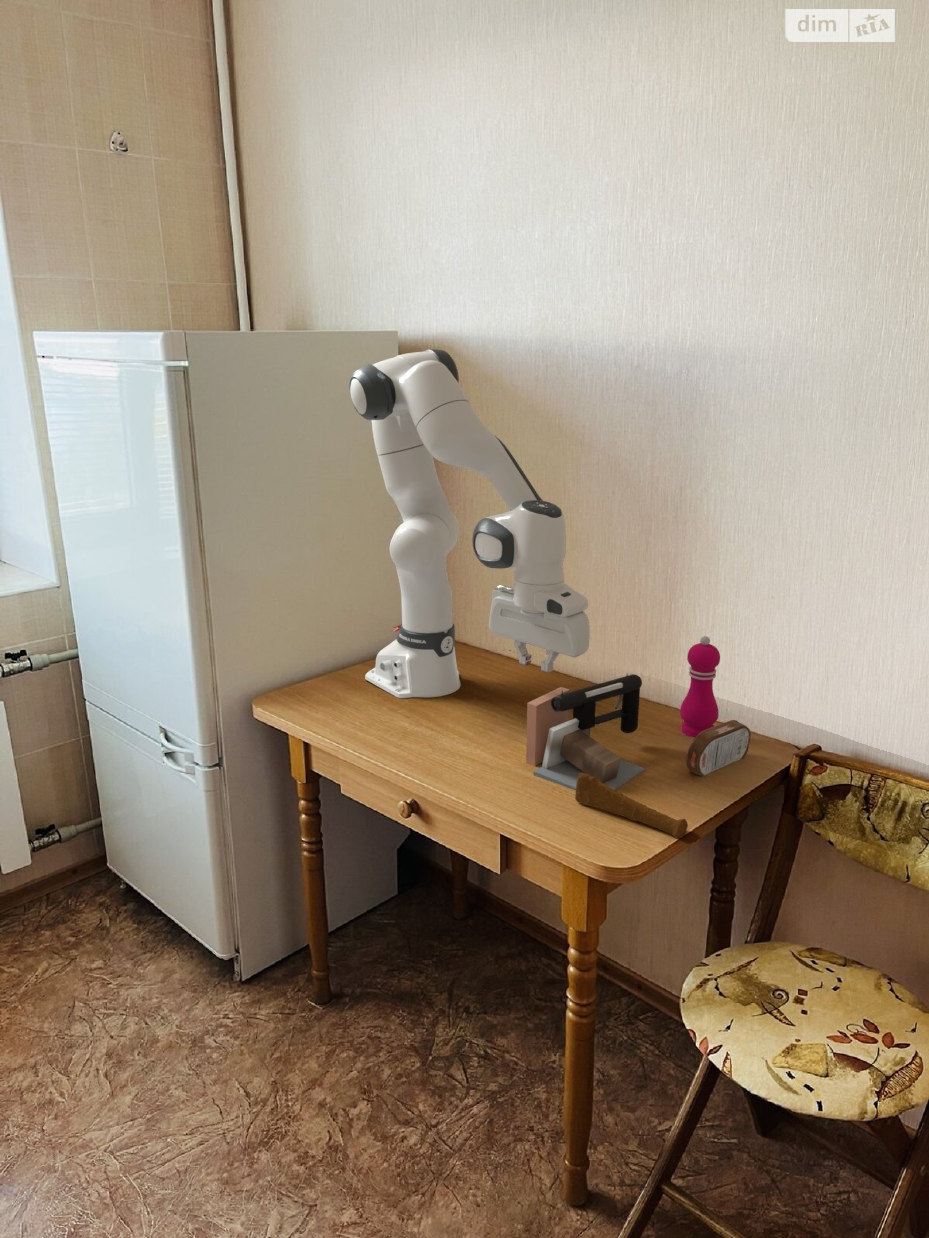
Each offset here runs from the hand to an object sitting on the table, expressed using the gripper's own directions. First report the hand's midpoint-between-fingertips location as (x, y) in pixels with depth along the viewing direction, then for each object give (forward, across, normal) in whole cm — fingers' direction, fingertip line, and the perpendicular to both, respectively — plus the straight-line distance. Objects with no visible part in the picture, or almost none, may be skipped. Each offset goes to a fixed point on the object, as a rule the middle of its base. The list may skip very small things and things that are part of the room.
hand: (535, 667), depth 167 cm
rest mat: (+16, +13, -1) cm, 21 cm away
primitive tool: (+19, +25, -10) cm, 33 cm away
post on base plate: (+12, +8, -1) cm, 14 cm away
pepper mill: (+16, +19, +27) cm, 37 cm away
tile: (+17, +3, 0) cm, 17 cm away
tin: (+16, +29, +16) cm, 37 cm away
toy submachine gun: (+17, +11, +5) cm, 21 cm away
